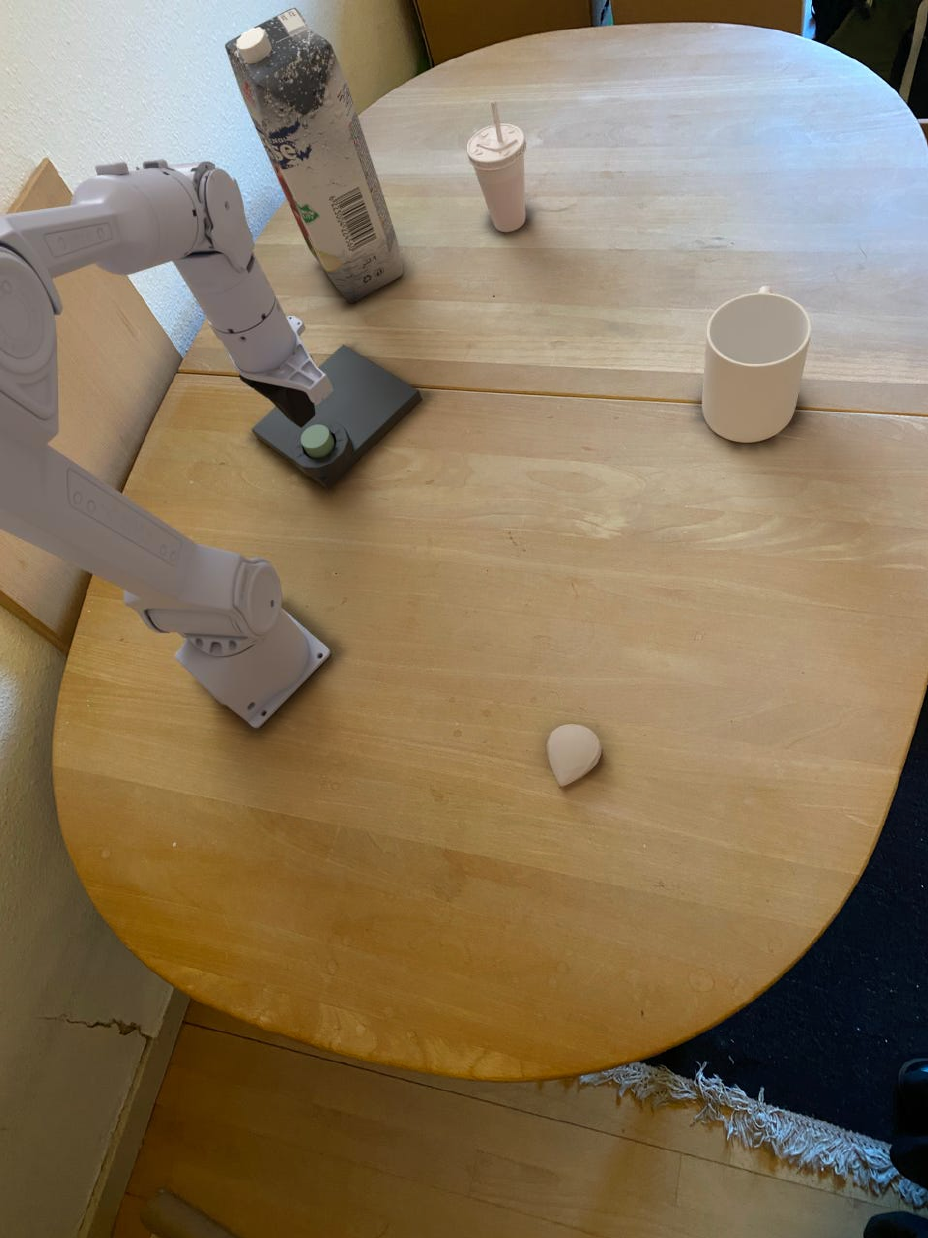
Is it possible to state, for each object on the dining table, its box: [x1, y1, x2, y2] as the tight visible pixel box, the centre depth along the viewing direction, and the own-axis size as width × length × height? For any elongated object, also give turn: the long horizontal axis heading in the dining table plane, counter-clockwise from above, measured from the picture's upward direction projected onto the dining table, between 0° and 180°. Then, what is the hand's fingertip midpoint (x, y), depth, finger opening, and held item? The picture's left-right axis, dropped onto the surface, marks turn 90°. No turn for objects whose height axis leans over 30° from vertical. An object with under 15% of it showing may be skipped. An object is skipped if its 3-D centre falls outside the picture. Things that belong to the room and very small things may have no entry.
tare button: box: [301, 425, 334, 458], centre depth 83 cm, size 3×3×2 cm
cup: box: [701, 285, 813, 444], centre depth 74 cm, size 8×12×10 cm
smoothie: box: [466, 99, 527, 233], centre depth 90 cm, size 6×6×14 cm
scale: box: [251, 344, 423, 491], centre depth 87 cm, size 14×12×3 cm
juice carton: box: [224, 7, 404, 304], centre depth 86 cm, size 9×10×27 cm
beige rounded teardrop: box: [546, 723, 603, 787], centre depth 65 cm, size 4×5×2 cm
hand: (304, 418), depth 79 cm, fingers closed
